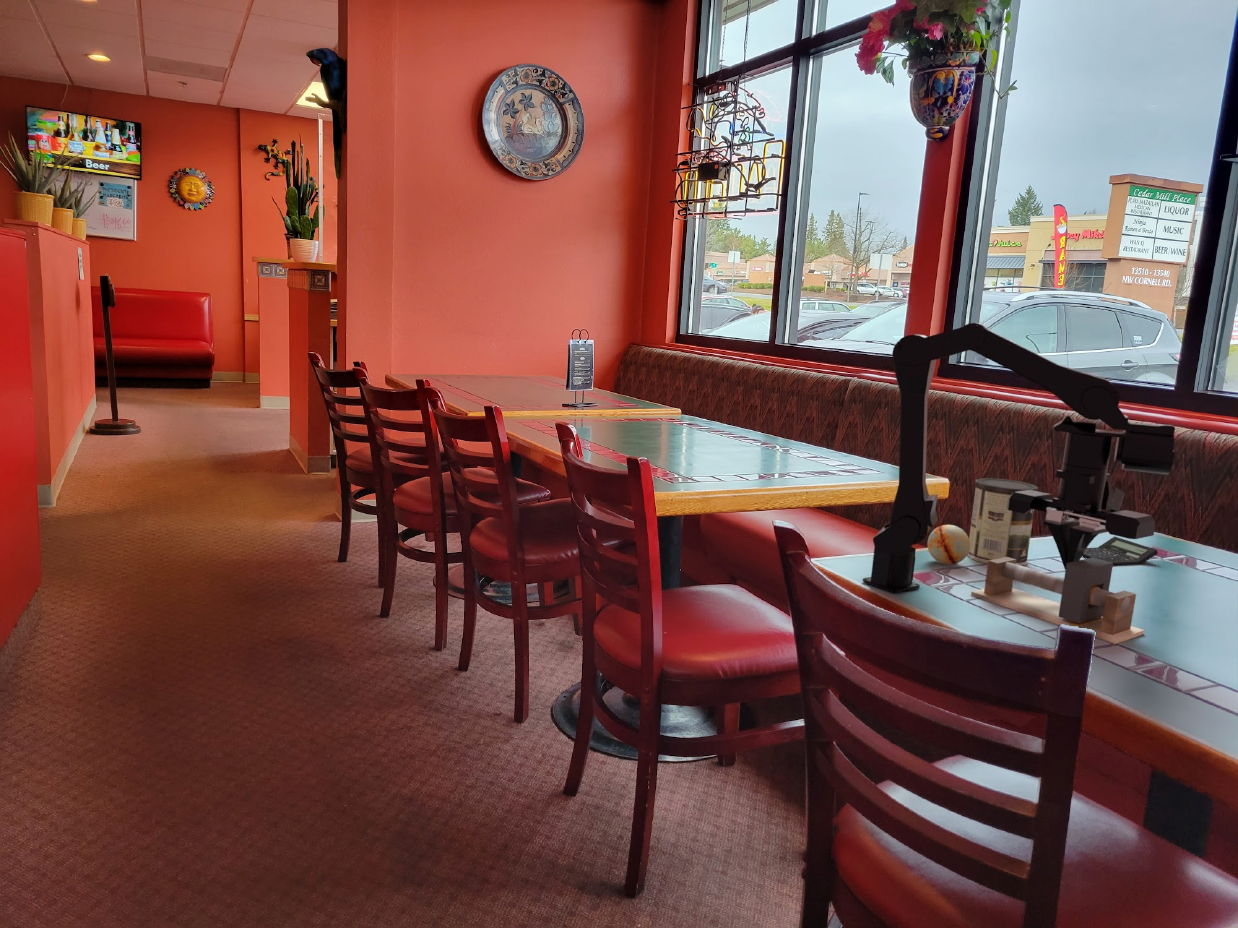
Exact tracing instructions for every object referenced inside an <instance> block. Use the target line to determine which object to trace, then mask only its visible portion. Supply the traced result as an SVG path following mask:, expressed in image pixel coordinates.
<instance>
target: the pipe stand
mask: <svg viewBox="0 0 1238 928" xmlns="http://www.w3.org/2000/svg"><path fill="white" fill-rule="evenodd" d="M1014 581H1016V582H1020V583H1022V584H1026V585H1029V586H1033V587H1036V588H1039V589H1042V590H1044V591H1049V592H1051V593H1055V594H1059V595H1061V596H1062V590H1063V583H1064V577H1061V576H1058V575H1054V574H1051V573H1048V572H1045V571H1040V570H1037V569H1033V568H1030V567H1027V566H1025V565H1024V566H1020V565H1017V564H1016V559H1013V558H1009V557H1004V558H999V559H994V560H989V561H988V564H987V567H986V575H985V582H984V588H982V589H976V590H973V591H971V593H970V596H972V597H975V598H979V599H981V600H983V601H986V602H990V603H993V604H996V605H998V606H1001V607H1005V608H1007V609H1011V610H1013V611H1015V612H1016V611H1017V612H1019V613H1022V614H1025V615H1028V616H1031V617H1034V618H1036V619H1040V620H1042V621H1046V622H1049V623H1051V624H1054V625H1058V626H1060V624H1065V625H1069V626H1078V627H1079V628H1087V629H1092V630H1094V631H1095V632H1096V637H1095V638H1096V639H1099V640H1102V641H1105V642H1108V643H1111V644H1114V645H1116V644H1118V643H1122V642H1125V641H1128V640H1132V639H1133V638H1137V637H1140V636H1143V635H1144V634H1145V630H1144V629H1142V628H1138V627H1136V626H1132V621H1133V616H1134V610H1135V603H1136V597H1137V593H1135V592H1131V591H1127V590H1122V591H1118V592H1113V591H1110V590H1109V591H1106V590H1102V589H1100V588H1099V587H1096V586H1091V592H1090V598H1089V604H1090V605H1097V606H1100V607H1104V613H1103V617H1099V618H1096V619H1093V620H1089V621H1086V622H1083V623H1076V622H1073V621H1070V620H1067V619H1064V618H1061V617H1058V616H1059V610H1060V603H1061V602H1057V601H1053V600H1050V599H1047V598H1044V597H1041V596H1038V595H1034V594H1031V593H1028V592H1026V591H1022V590H1019V589H1017V588H1013V585H1014ZM1142 634H1143V635H1142Z"/></svg>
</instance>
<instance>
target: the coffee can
mask: <svg viewBox="0 0 1238 928" xmlns="http://www.w3.org/2000/svg"><path fill="white" fill-rule="evenodd" d="M1038 489H1039V487H1038V486H1036V485H1035V484H1032V483H1029V482H1025V481H1019V480H1014V479H1005V478H992V477H991V478H989V477H983V478H978V479H975V490H974V497H973V498H974V499H973V507H972V514H971V521H970V530H969V536H968V538H969V541H970V550H969V553H968V555H967V556H966V557H968V558H969V559H971V558H972V559H971V560H974V561H976V562H980V563H984V564H987V565H988V561H989V560H994V559H999V558H1004V557H1009V558H1013V559H1016V564H1017V565H1020V566H1024V567H1025V566H1026V565H1027V564H1028V555H1029V548H1030V543H1031V542H1030V541H1031V534H1032V528H1033V519H1034V512H1035V509H1032V510H1031V511H1029V512H1028V513H1026V514H1022V513H1018V512H1014V511H1010V510H1007V504H1008V498H1009V497H1010V495H1011V494H1012V493H1013V492H1017V491H1025V490H1033V491H1038ZM1038 492H1039V491H1038ZM1025 564H1026V565H1025Z"/></svg>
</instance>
